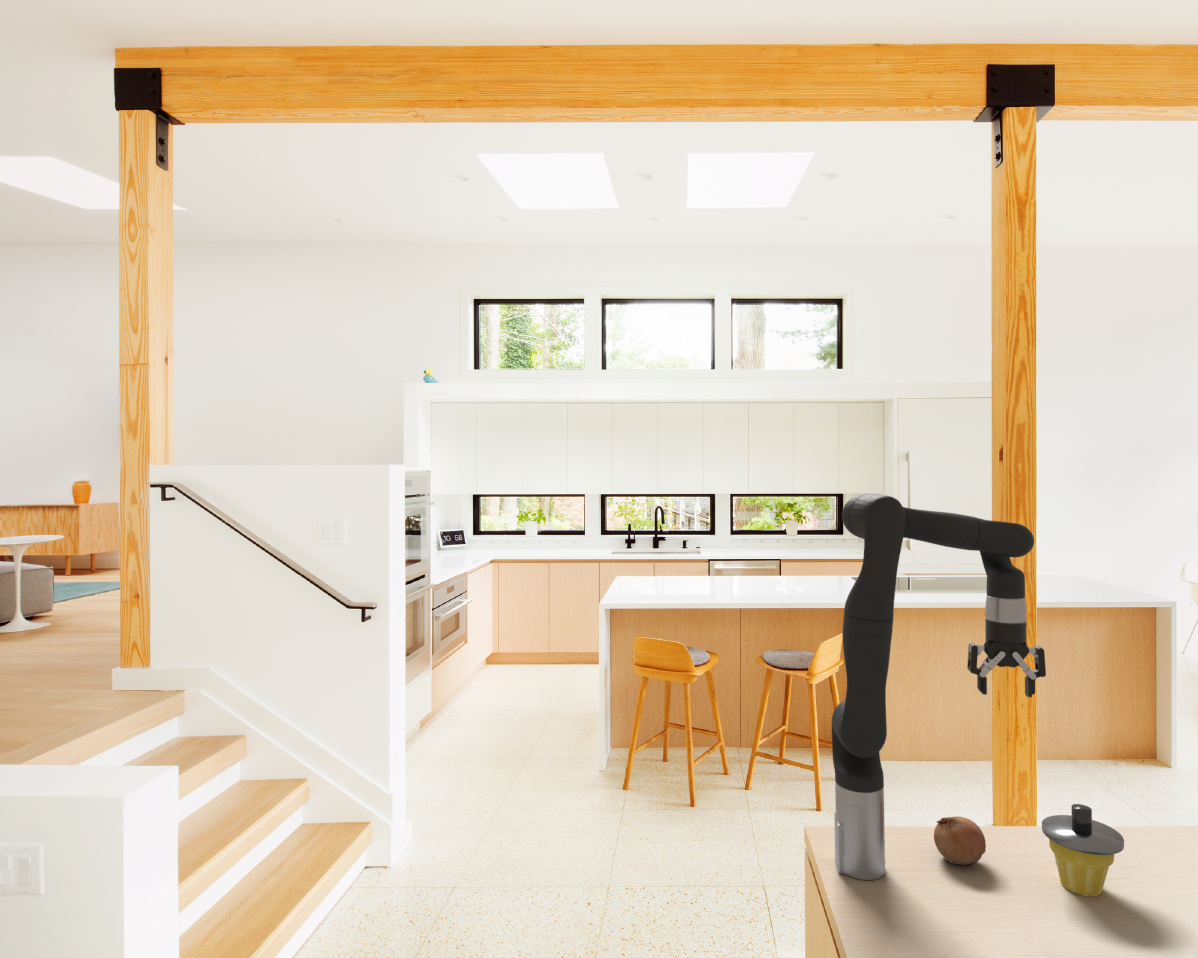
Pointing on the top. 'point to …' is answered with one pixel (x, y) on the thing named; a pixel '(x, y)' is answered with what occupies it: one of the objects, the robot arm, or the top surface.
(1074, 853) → the plant pot
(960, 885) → the top surface
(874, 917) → the top surface
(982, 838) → the onion
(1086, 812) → the lid
